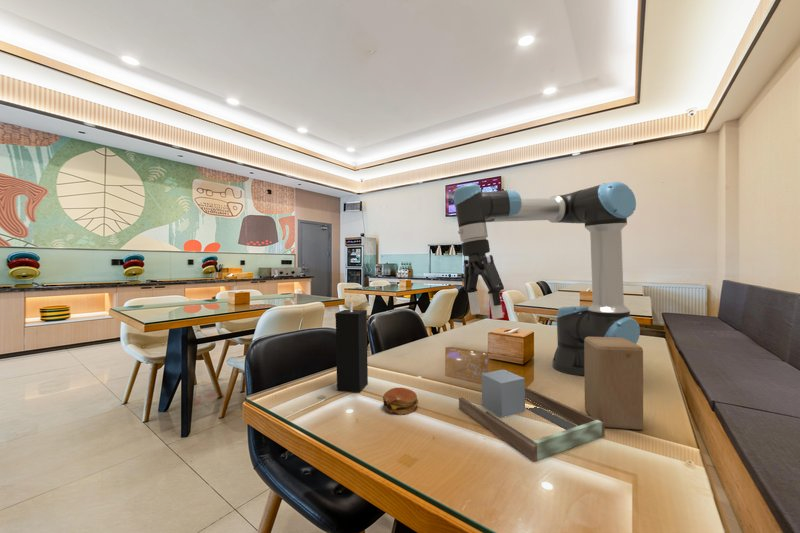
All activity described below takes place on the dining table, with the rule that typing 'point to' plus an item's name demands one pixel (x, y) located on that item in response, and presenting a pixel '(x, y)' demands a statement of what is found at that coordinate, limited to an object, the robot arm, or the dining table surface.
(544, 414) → the pads
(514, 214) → the robot arm
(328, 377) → the dining table surface
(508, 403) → the slate block
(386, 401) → the burger
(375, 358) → the dining table surface
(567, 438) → the u-shaped frame
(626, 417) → the wooden block
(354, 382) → the black tall block
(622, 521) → the dining table surface
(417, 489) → the dining table surface
